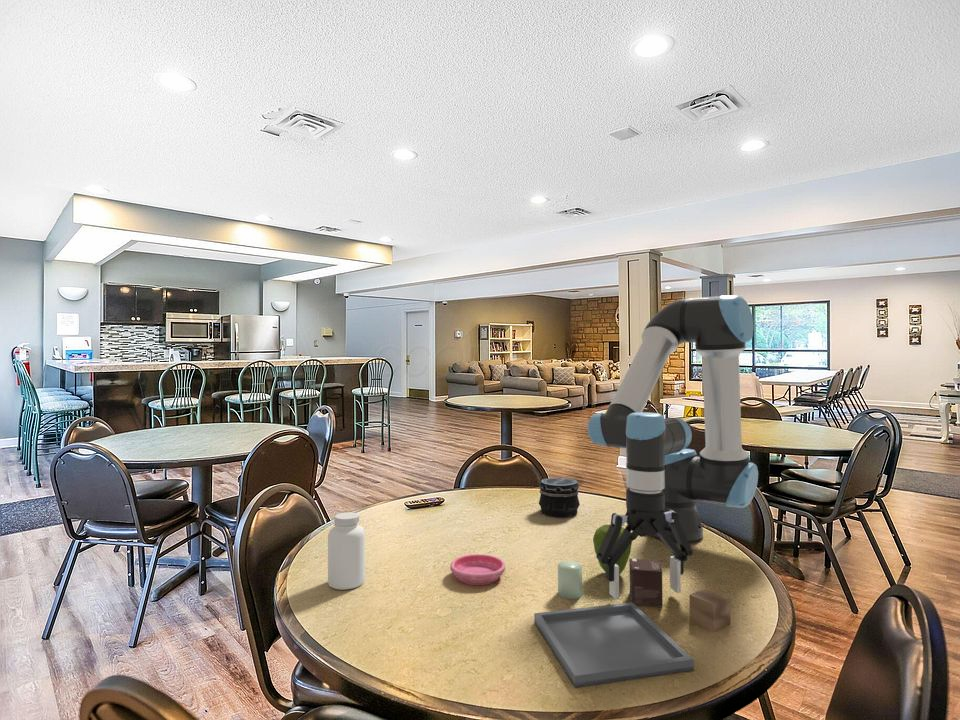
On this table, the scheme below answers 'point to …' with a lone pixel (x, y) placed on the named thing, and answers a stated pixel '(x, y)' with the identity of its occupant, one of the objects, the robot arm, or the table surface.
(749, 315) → the robot arm
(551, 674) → the table surface
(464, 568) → the pink shallow round dish
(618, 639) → the tray
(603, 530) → the apple
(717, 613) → the walnut block
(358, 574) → the pill bottle
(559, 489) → the container
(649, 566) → the box
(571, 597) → the sage canister
